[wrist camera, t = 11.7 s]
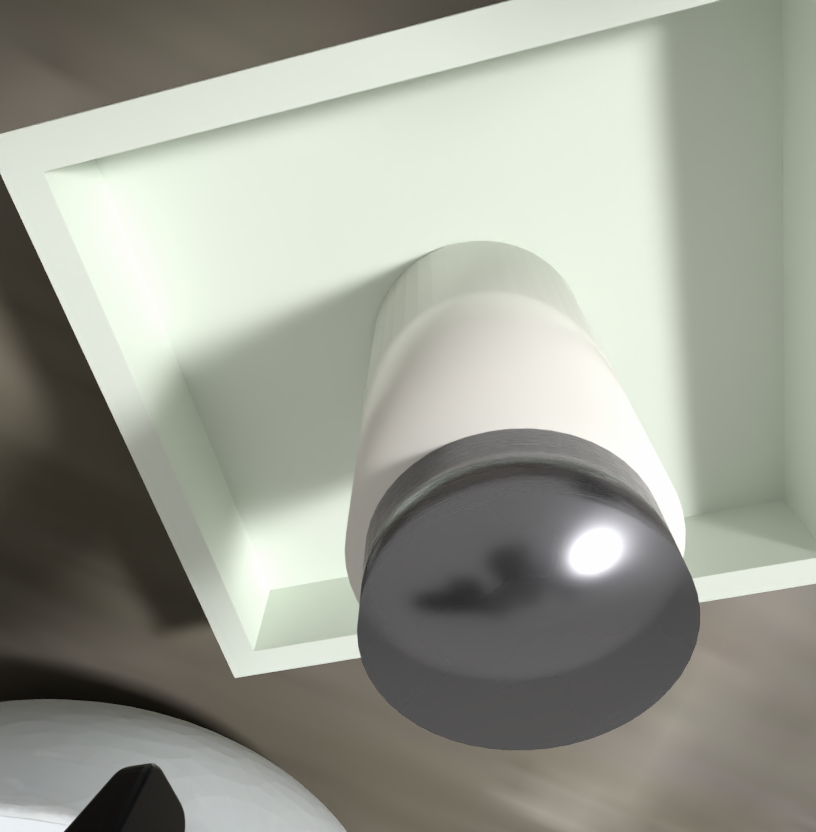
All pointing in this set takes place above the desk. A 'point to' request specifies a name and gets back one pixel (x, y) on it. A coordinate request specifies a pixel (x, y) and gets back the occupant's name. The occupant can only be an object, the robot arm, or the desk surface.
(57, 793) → the serving bowl
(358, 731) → the desk surface
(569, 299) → the cylinder
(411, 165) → the tray
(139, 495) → the desk surface
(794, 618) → the desk surface
